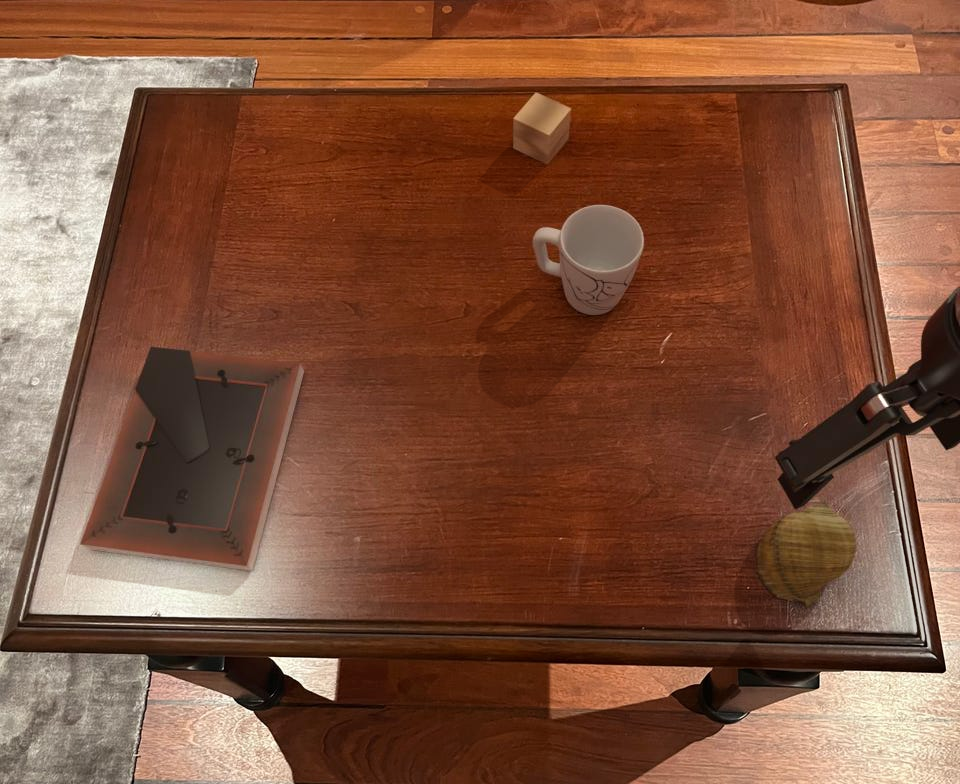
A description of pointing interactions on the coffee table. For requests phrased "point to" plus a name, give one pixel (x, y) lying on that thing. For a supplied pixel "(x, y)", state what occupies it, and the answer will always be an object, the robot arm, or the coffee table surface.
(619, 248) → the mug
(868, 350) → the coffee table surface
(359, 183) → the coffee table surface
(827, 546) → the seashell
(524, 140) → the maple block
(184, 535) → the picture frame
